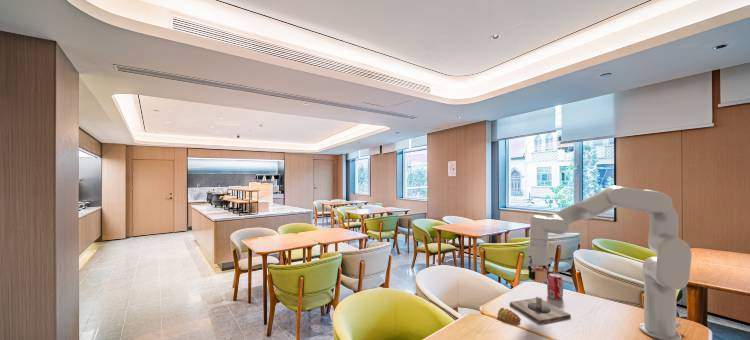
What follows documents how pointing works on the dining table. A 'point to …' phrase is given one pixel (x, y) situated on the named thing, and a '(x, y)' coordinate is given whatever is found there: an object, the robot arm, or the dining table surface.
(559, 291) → the soda can
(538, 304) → the post stand
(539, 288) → the dining table surface
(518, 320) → the brown ridged oval piece
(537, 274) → the ring
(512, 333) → the dining table surface
